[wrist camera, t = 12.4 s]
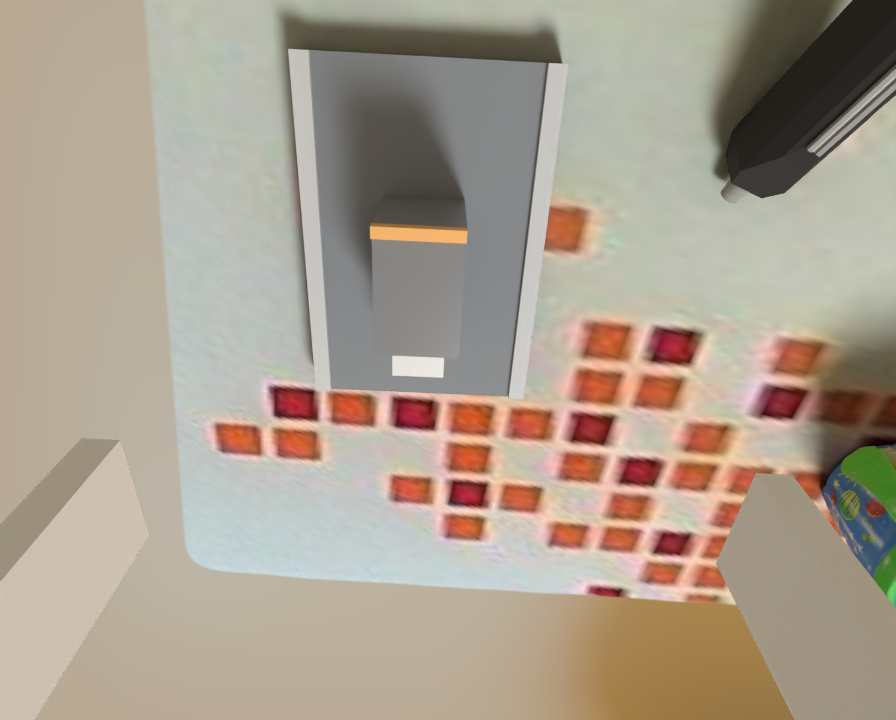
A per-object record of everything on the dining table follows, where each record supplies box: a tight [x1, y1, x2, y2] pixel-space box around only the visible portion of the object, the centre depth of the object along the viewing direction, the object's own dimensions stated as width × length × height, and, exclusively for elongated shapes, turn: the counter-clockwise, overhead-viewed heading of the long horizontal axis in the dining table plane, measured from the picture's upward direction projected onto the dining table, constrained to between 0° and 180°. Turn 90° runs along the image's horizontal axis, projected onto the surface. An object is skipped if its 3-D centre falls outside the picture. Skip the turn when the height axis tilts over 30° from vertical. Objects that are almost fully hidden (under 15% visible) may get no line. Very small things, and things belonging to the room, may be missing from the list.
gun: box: [721, 0, 896, 203], centre depth 26 cm, size 3×16×10 cm, turn 157°
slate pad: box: [288, 49, 569, 399], centre depth 33 cm, size 20×14×2 cm
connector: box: [370, 195, 468, 378], centre depth 30 cm, size 10×4×6 cm, turn 177°
